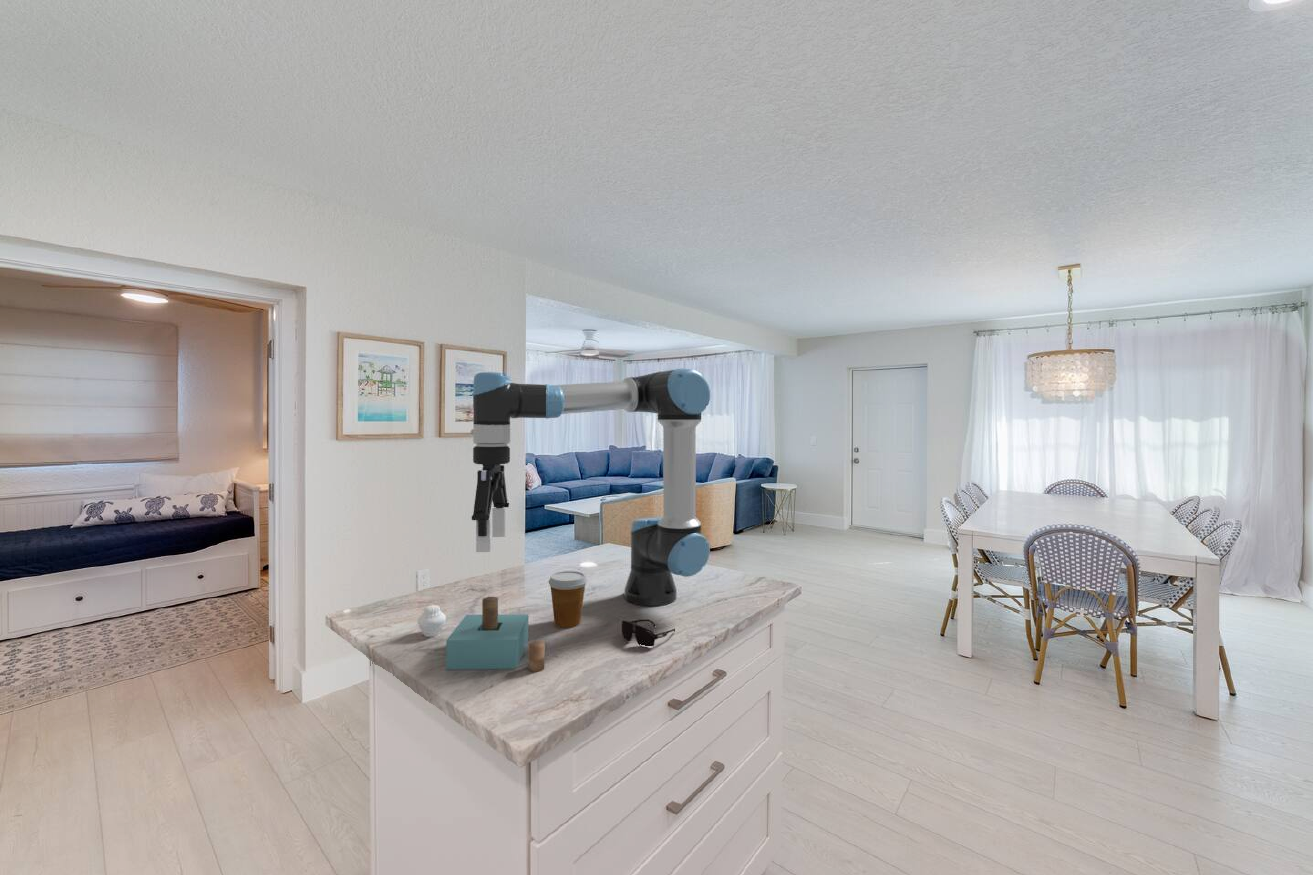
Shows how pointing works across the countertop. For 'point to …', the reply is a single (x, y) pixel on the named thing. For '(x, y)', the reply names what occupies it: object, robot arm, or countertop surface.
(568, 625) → the disposable coffee cup
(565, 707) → the countertop surface
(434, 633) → the white ribbed jar
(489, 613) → the tall pin
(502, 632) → the hole block
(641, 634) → the sunglasses
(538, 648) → the short pin
